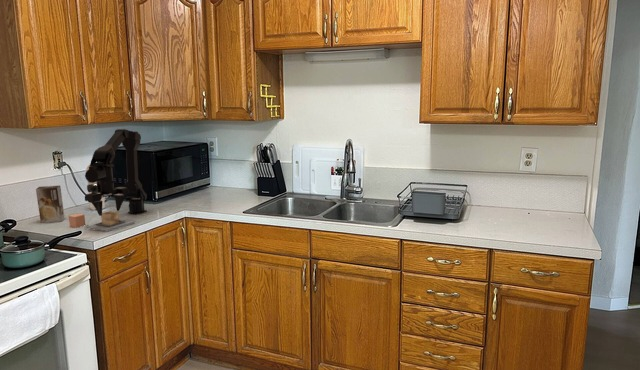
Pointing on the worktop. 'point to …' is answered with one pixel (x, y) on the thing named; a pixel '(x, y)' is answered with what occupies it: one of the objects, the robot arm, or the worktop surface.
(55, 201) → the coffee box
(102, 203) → the water bottle
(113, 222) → the oak cube
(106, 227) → the grey flat square plate
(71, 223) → the terracotta block
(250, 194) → the worktop surface
